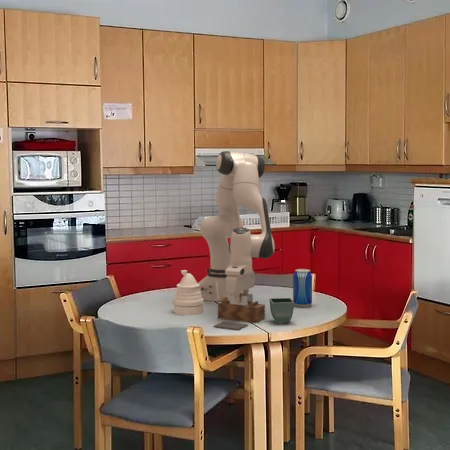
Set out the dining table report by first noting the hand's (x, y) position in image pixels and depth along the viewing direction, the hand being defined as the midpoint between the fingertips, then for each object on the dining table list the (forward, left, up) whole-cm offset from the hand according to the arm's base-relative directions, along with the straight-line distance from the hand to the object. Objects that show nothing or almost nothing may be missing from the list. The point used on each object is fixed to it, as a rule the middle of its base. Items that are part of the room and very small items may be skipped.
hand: (241, 301), depth 281 cm
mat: (+2, -14, -7) cm, 16 cm away
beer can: (+14, +34, -7) cm, 38 cm away
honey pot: (-26, +2, -7) cm, 27 cm away
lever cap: (0, 0, -1) cm, 1 cm away
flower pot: (+17, +1, -7) cm, 19 cm away
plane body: (0, 0, -7) cm, 7 cm away
